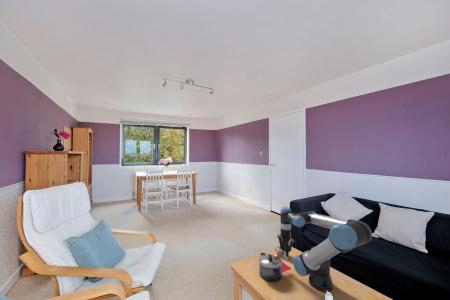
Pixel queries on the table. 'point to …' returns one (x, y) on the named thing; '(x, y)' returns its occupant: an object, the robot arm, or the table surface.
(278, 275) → the cooker pot
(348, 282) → the table surface
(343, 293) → the table surface
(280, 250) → the teacup with lid
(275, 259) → the lid
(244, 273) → the table surface
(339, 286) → the table surface
